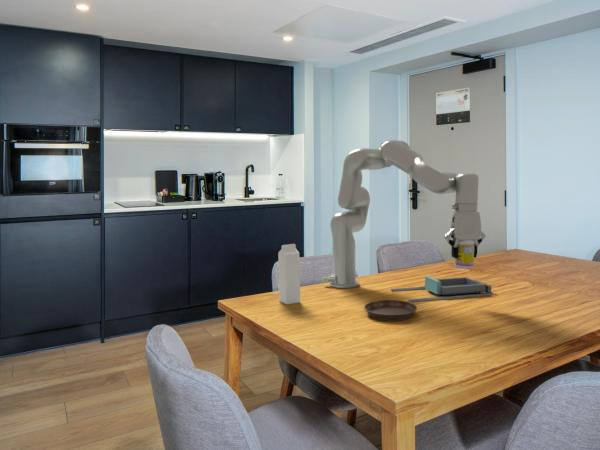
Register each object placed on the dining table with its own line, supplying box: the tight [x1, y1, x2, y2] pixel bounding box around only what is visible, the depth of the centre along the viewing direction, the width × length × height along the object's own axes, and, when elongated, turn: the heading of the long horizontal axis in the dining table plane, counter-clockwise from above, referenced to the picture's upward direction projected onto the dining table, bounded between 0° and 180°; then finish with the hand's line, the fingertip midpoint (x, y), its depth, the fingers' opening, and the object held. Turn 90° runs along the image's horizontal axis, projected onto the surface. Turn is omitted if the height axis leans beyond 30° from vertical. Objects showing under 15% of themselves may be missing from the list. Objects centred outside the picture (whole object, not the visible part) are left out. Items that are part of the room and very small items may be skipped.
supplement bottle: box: [453, 240, 475, 270], centre depth 181 cm, size 7×7×13 cm
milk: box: [277, 243, 301, 305], centre depth 190 cm, size 6×6×22 cm
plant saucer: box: [363, 299, 418, 322], centre depth 172 cm, size 18×18×3 cm
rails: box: [390, 279, 492, 303], centre depth 200 cm, size 36×18×3 cm, turn 102°
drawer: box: [424, 275, 486, 296], centre depth 201 cm, size 20×14×6 cm
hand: (464, 256), depth 182 cm, fingers closed on supplement bottle, 6 cm apart
